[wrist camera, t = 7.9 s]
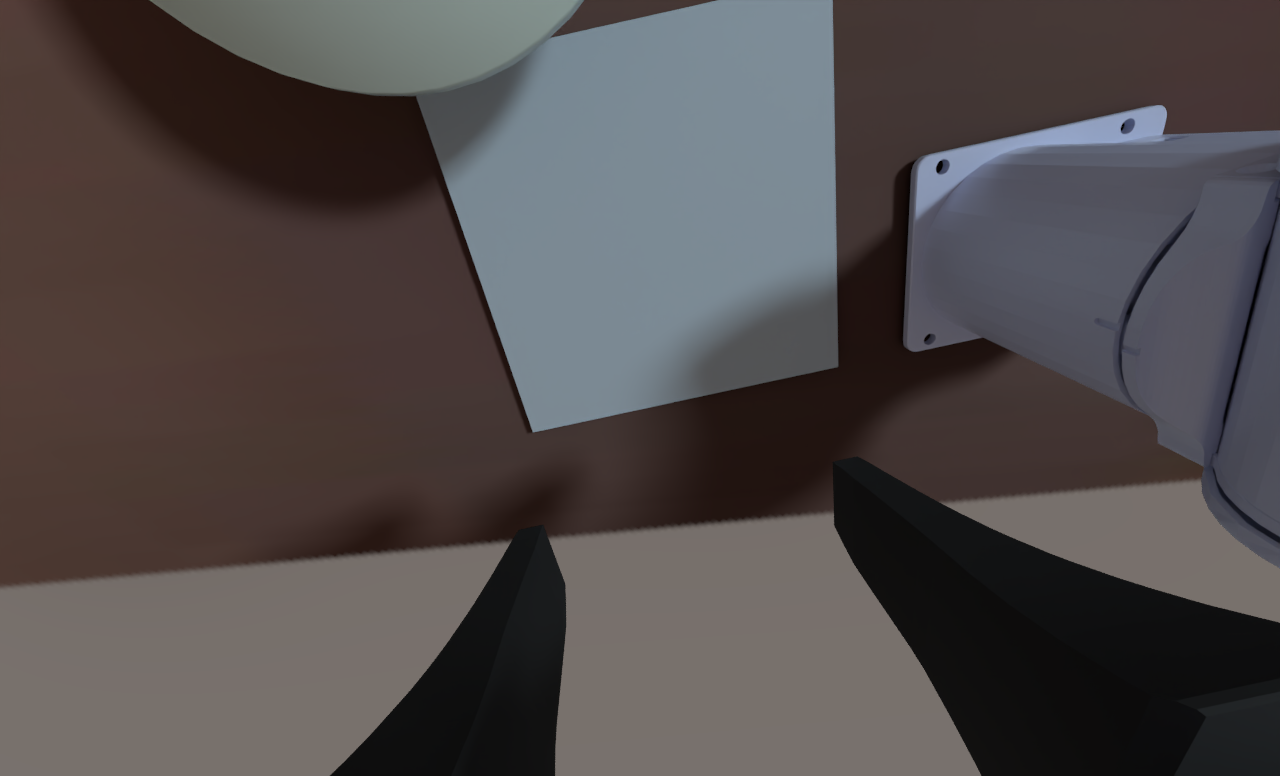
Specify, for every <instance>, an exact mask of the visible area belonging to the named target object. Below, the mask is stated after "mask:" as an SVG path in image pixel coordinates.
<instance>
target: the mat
mask: <svg viewBox="0 0 1280 776" xmlns="http://www.w3.org/2000/svg"><path fill="white" fill-rule="evenodd" d="M416 98H417V101H418V104H419V106H420V109H421V112H422V115H423V118H424V121H425V124H426V127H427V129H428V132H429V135H430V138H431V141H432V144H433V147H434V150H435V152H436V155H437V158H438V161H439V164H440V167H441V170H442V173H443V175H444V178H445V181H446V184H447V187H448V190H449V193H450V196H451V198H452V201H453V204H454V207H455V210H456V213H457V216H458V219H459V221H460V224H461V227H462V230H463V233H464V236H465V239H466V242H467V244H468V247H469V250H470V253H471V256H472V259H473V262H474V264H475V267H476V270H477V273H478V276H479V279H480V282H481V285H482V287H483V290H484V293H485V296H486V299H487V302H488V305H489V308H490V310H491V313H492V316H493V319H494V322H495V325H496V328H497V331H498V333H499V336H500V339H501V342H502V345H503V348H504V351H505V354H506V356H507V359H508V362H509V365H510V368H511V371H512V374H513V377H514V379H515V382H516V385H517V388H518V391H519V394H520V397H521V400H522V402H523V405H524V408H525V411H526V414H527V417H528V420H529V423H530V425H531V428H532V431H533V432H538V431H542V430H547V429H552V428H556V427H561V426H565V425H570V424H575V423H579V422H584V421H589V420H593V419H598V418H603V417H607V416H612V415H617V414H621V413H626V412H631V411H635V410H640V409H645V408H649V407H654V406H659V405H663V404H668V403H673V402H677V401H682V400H687V399H691V398H696V397H701V396H705V395H710V394H715V393H719V392H724V391H729V390H733V389H738V388H743V387H747V386H752V385H757V384H761V383H766V382H771V381H775V380H780V379H784V378H789V377H794V376H798V375H803V374H808V373H812V372H817V371H822V370H826V369H831V368H836V367H838V316H837V253H836V189H835V125H834V61H833V0H718V1H713V2H709V3H705V4H700V5H696V6H691V7H687V8H682V9H678V10H673V11H669V12H664V13H660V14H656V15H651V16H647V17H642V18H638V19H633V20H629V21H624V22H620V23H615V24H611V25H606V26H602V27H598V28H593V29H589V30H584V31H580V32H575V33H571V34H566V35H562V36H557V37H553V38H549V39H548V40H547V41H546V42H545V43H544V44H543V45H541V46H540V47H538V48H537V49H536V50H534V51H533V52H531V53H530V54H529V55H527V56H526V57H524V58H523V59H521V60H520V61H519V62H517V63H516V64H514V65H513V66H511V67H509V68H507V69H505V70H503V71H501V72H499V73H497V74H495V75H493V76H491V77H489V78H487V79H484V80H482V81H480V82H476V83H473V84H470V85H467V86H463V87H460V88H457V89H454V90H451V91H446V92H439V93H432V94H425V95H418V96H416Z"/></svg>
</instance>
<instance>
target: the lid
mask: <svg viewBox="0 0 1280 776" xmlns="http://www.w3.org/2000/svg"><path fill="white" fill-rule="evenodd" d="M150 1H151V2H153V3H154V4H155V5H157V6H158V7H160V8H161V9H163V10H164V11H165V12H167V13H168V14H170V15H171V16H173V17H174V18H176V19H177V20H178V21H180V22H181V23H183V24H184V25H186V26H187V27H188V28H190V29H191V30H193V31H194V32H196V33H198V34H200V35H201V36H203V37H205V38H207V39H209V40H210V41H212V42H214V43H216V44H218V45H219V46H221V47H223V48H225V49H227V50H228V51H230V52H232V53H234V54H235V55H237V56H239V57H242V58H244V59H247V60H249V61H251V62H254V63H256V64H258V65H261V66H263V67H265V68H268V69H270V70H272V71H275V72H277V73H280V74H282V75H286V76H289V77H293V78H296V79H300V80H303V81H307V82H310V83H314V84H317V85H320V86H324V87H328V88H332V89H336V90H341V91H347V92H354V93H361V94H367V95H374V96H418V95H425V94H432V93H439V92H446V91H451V90H454V89H457V88H460V87H463V86H467V85H470V84H473V83H476V82H480V81H482V80H484V79H487V78H489V77H491V76H493V75H495V74H497V73H499V72H501V71H503V70H505V69H507V68H509V67H511V66H513V65H514V64H516V63H517V62H519V61H520V60H521V59H523V58H524V57H526V56H527V55H529V54H530V53H531V52H533V51H534V50H536V49H537V48H538V47H540V46H541V45H543V44H544V43H545V42H546V41H547V40H548V39H549V38H550V37H551V36H552V35H553V34H554V33H555V32H556V31H557V30H558V29H559V28H560V27H561V26H562V25H564V24H565V23H566V22H567V21H568V20H569V19H570V18H571V17H572V15H573V14H574V13H575V11H576V10H577V9H578V8H579V6H580V5H581V4H582V2H583V1H584V0H150Z"/></svg>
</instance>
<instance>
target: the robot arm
mask: <svg viewBox="0 0 1280 776" xmlns="http://www.w3.org/2000/svg"><path fill="white" fill-rule="evenodd" d="M1166 117H1167V111H1166V109H1165V108H1164V107H1163V106H1147V107H1143V108H1138V109H1134V110H1129V111H1125V112H1120V113H1115V114H1111V115H1106V116H1102V117H1097V118H1093V119H1088V120H1084V121H1079V122H1074V123H1070V124H1065V125H1061V126H1056V127H1052V128H1047V129H1043V130H1038V131H1033V132H1029V133H1024V134H1020V135H1015V136H1011V137H1006V138H1001V139H997V140H992V141H988V142H983V143H979V144H974V145H970V146H965V147H960V148H956V149H951V150H947V151H942V152H938V153H933V154H929V155H924V156H922V157H920V158H919V159H918V160H917V161H915V163H914V165H913V167H912V171H911V185H910V206H909V226H908V247H907V267H906V288H905V309H904V329H903V345H904V346H905V348H907V349H908V350H910V351H912V352H918V351H923V350H927V349H932V348H937V347H941V346H946V345H951V344H955V343H960V342H965V341H969V340H974V339H979V338H985V339H987V340H989V341H991V342H994V343H996V344H998V345H1000V346H1002V347H1004V348H1006V349H1008V350H1011V351H1013V352H1015V353H1017V354H1019V355H1021V356H1023V357H1025V358H1028V359H1030V360H1032V361H1034V362H1036V363H1038V364H1040V365H1042V366H1045V367H1047V368H1049V369H1051V370H1053V371H1055V372H1057V373H1059V374H1062V375H1064V376H1066V377H1068V378H1070V379H1072V380H1074V381H1076V382H1079V383H1081V384H1083V385H1085V386H1087V387H1089V388H1091V389H1093V390H1095V391H1098V392H1100V393H1102V394H1104V395H1106V396H1108V397H1110V398H1112V399H1115V400H1117V401H1119V402H1121V403H1123V404H1125V405H1127V406H1129V407H1132V408H1134V409H1136V410H1138V411H1140V412H1142V413H1144V414H1147V415H1149V416H1150V417H1151V418H1152V419H1153V420H1154V421H1155V423H1156V425H1157V429H1158V443H1159V444H1161V445H1163V446H1165V447H1167V448H1168V449H1170V450H1172V451H1174V452H1176V453H1178V454H1180V455H1182V456H1184V457H1186V458H1188V459H1190V460H1192V461H1194V462H1196V463H1198V464H1200V465H1202V466H1204V471H1203V475H1202V479H1201V482H1202V493H1203V496H1204V499H1205V501H1206V503H1207V506H1208V508H1209V510H1210V511H1211V512H1212V514H1213V515H1214V517H1215V518H1216V519H1217V521H1218V522H1219V523H1220V524H1221V525H1222V526H1223V527H1224V528H1225V529H1226V530H1227V531H1228V532H1229V533H1230V534H1231V535H1232V536H1233V537H1234V538H1236V539H1237V540H1238V541H1239V542H1241V543H1242V544H1243V545H1245V546H1246V547H1248V548H1249V549H1250V550H1252V551H1253V552H1254V553H1256V554H1257V555H1258V556H1260V557H1262V558H1263V559H1265V560H1267V561H1268V562H1270V563H1272V564H1273V565H1275V566H1277V567H1279V568H1280V131H1253V132H1225V133H1198V134H1170V135H1162V134H1163V130H1164V126H1165V122H1166ZM1123 123H1125V126H1124V128H1123V130H1122V131H1121V126H1122V124H1123ZM939 161H942V162H943V167H942V170H941V171H940V172H939V173H937V172H936V166H937V164H938V163H939ZM928 334H930V337H929V339H928V340H927V341H925V342H924V339H925V337H926V336H927V335H928ZM833 491H834V525H835V528H836V530H837V532H838V534H839V536H840V538H841V540H842V542H843V544H844V546H845V548H846V550H847V552H848V554H849V555H850V557H851V559H852V561H853V563H854V565H855V566H856V568H857V569H858V571H859V572H860V574H861V575H862V577H863V578H864V580H865V581H866V583H867V584H868V586H869V587H870V589H871V590H872V592H873V593H874V595H875V596H876V598H877V599H878V600H879V602H880V603H881V605H882V606H883V608H884V609H885V611H886V612H887V614H888V615H889V617H890V618H891V620H892V621H893V622H894V624H895V625H896V627H897V628H898V630H899V631H900V633H901V634H902V636H903V637H904V639H905V640H906V642H907V643H908V645H909V646H910V647H911V649H912V651H913V652H914V654H915V655H916V657H917V659H918V660H919V662H920V663H921V665H922V666H923V668H924V670H925V672H926V673H927V675H928V677H929V679H930V681H931V682H932V684H933V686H934V688H935V689H936V691H937V693H938V695H939V697H940V698H941V700H942V702H943V704H944V706H945V708H946V709H947V711H948V713H949V715H950V717H951V718H952V720H953V722H954V724H955V726H956V728H957V730H958V732H959V734H960V736H961V737H962V739H963V741H964V743H965V745H966V747H967V749H968V751H969V752H970V754H971V756H972V758H973V760H974V762H975V764H976V766H977V768H978V770H979V772H980V774H981V776H1280V623H1278V622H1275V621H1270V620H1266V619H1262V618H1258V617H1254V616H1250V615H1246V614H1242V613H1238V612H1234V611H1230V610H1226V609H1222V608H1218V607H1214V606H1210V605H1206V604H1203V603H1199V602H1196V601H1192V600H1188V599H1185V598H1182V597H1178V596H1175V595H1172V594H1168V593H1165V592H1162V591H1158V590H1155V589H1151V588H1148V587H1145V586H1142V585H1139V584H1135V583H1132V582H1129V581H1126V580H1123V579H1120V578H1116V577H1114V576H1110V575H1108V574H1105V573H1102V572H1099V571H1096V570H1093V569H1090V568H1088V567H1085V566H1082V565H1079V564H1077V563H1074V562H1071V561H1068V560H1065V559H1063V558H1060V557H1058V556H1055V555H1052V554H1050V553H1047V552H1045V551H1043V550H1040V549H1038V548H1035V547H1033V546H1031V545H1028V544H1026V543H1023V542H1021V541H1018V540H1016V539H1013V538H1011V537H1009V536H1007V535H1005V534H1002V533H1000V532H998V531H996V530H993V529H991V528H989V527H987V526H985V525H983V524H981V523H979V522H977V521H975V520H973V519H971V518H969V517H967V516H964V515H962V514H960V513H958V512H957V511H955V510H953V509H951V508H949V507H947V506H945V505H943V504H941V503H939V502H937V501H935V500H934V499H932V498H930V497H928V496H926V495H925V494H923V493H921V492H919V491H917V490H916V489H914V488H912V487H910V486H908V485H907V484H905V483H903V482H901V481H900V480H898V479H896V478H894V477H893V476H891V475H889V474H888V473H886V472H884V471H882V470H881V469H879V468H877V467H875V466H874V465H872V464H870V463H868V462H867V461H865V460H863V459H861V458H859V457H853V458H848V459H844V460H839V461H835V462H833ZM565 632H566V594H565V582H564V579H563V577H562V574H561V572H560V569H559V566H558V563H557V561H556V558H555V555H554V553H553V550H552V547H551V545H550V542H549V539H548V537H547V534H546V531H545V529H544V526H543V525H540V526H535V527H531V528H526V529H521V530H519V531H518V532H517V533H516V535H515V537H514V538H513V540H512V542H511V543H510V545H509V547H508V549H507V550H506V552H505V554H504V556H503V557H502V559H501V561H500V562H499V564H498V566H497V567H496V569H495V571H494V573H493V574H492V576H491V578H490V579H489V581H488V582H487V584H486V585H485V587H484V589H483V590H482V592H481V594H480V595H479V597H478V598H477V600H476V601H475V603H474V605H473V606H472V608H471V609H470V611H469V612H468V614H467V615H466V617H465V618H464V620H463V621H462V622H461V624H460V626H459V627H458V628H457V630H456V631H455V633H454V634H453V636H452V637H451V639H450V640H449V641H448V643H447V644H446V646H445V647H444V648H443V650H442V651H441V652H440V654H439V655H438V656H437V658H436V659H435V661H434V662H433V663H432V664H431V666H430V667H429V668H428V669H427V671H426V672H425V673H424V674H423V676H422V677H421V678H420V679H419V681H418V682H417V683H416V684H415V685H414V687H413V688H412V689H411V691H409V693H408V694H407V695H406V696H405V697H404V698H403V699H402V700H401V702H400V703H399V704H398V705H397V706H396V707H395V708H394V709H393V711H392V712H391V713H390V714H389V715H388V716H387V717H386V718H385V719H384V720H383V722H382V723H381V724H380V725H379V726H378V727H377V728H376V729H375V730H374V732H373V733H372V734H371V735H370V736H369V737H368V738H367V739H366V740H365V741H364V742H363V743H362V744H361V745H360V746H359V747H358V748H357V749H356V750H355V752H354V753H353V754H352V755H350V757H349V758H348V759H347V760H346V761H345V762H344V763H343V764H342V765H341V766H339V767H338V768H337V769H336V770H335V771H334V772H333V773H332V774H331V775H330V776H555V743H556V726H557V715H558V705H559V695H560V685H561V675H562V665H563V654H564V644H565Z"/></svg>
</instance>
